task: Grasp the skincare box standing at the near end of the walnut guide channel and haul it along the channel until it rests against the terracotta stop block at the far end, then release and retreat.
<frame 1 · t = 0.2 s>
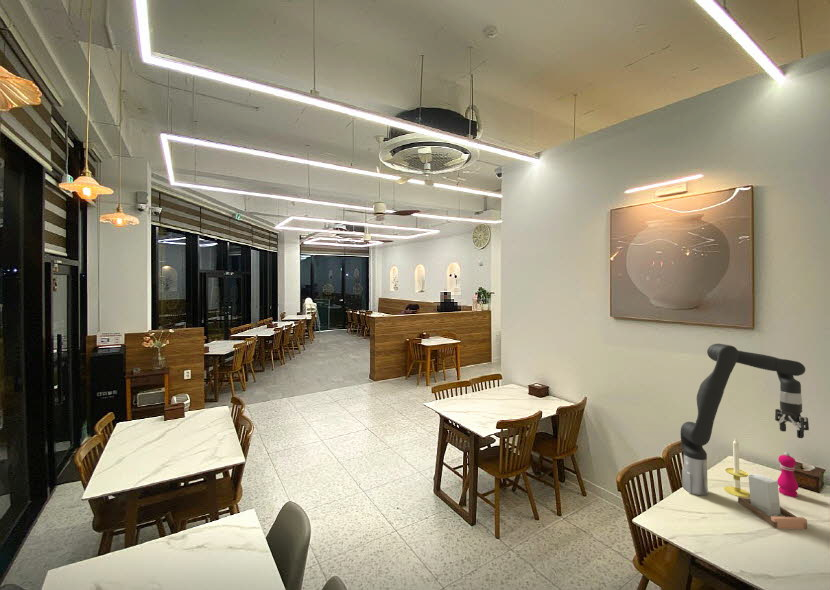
hand: (791, 434, 176), 29 cm above the table, fingers open, 8 cm apart
skincare box: (764, 511, 163), resting in guide channel
stop block: (789, 527, 151), on the table
candle: (737, 492, 179), on the table
guide channel: (770, 515, 160), on the table
pepper mill: (788, 494, 176), on the table
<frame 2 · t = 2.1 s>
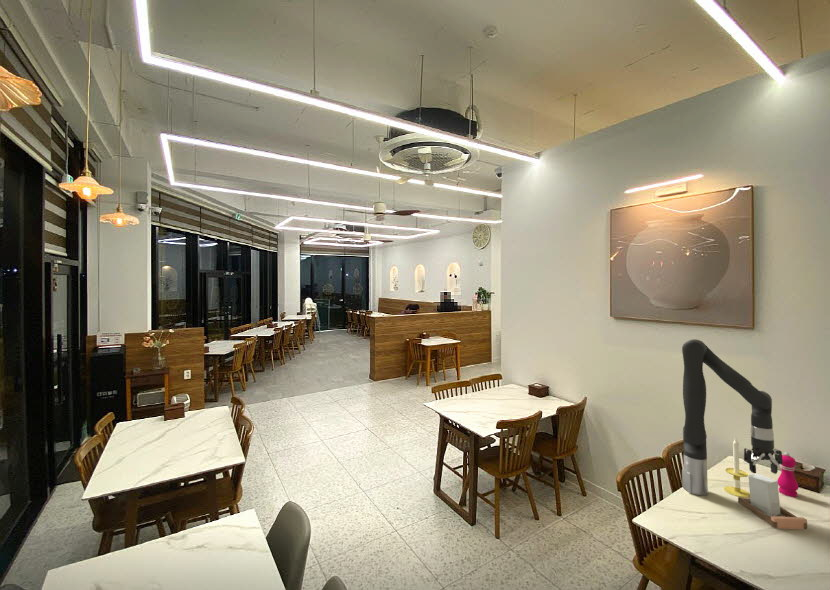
hand: (763, 472, 163), 17 cm above the table, fingers open, 8 cm apart
nothing on the table moved.
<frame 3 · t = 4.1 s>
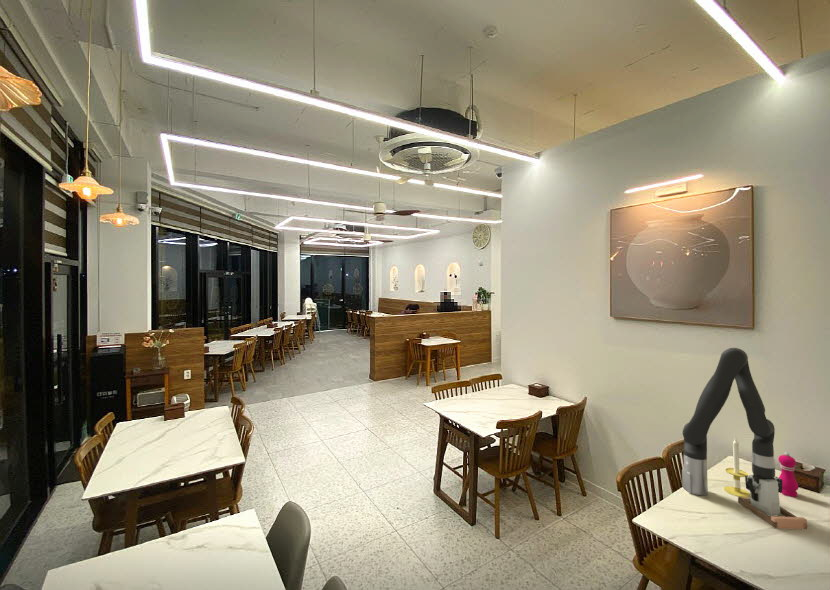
hand: (764, 500, 163), 5 cm above the table, fingers closed on skincare box, 7 cm apart
skincare box: (764, 511, 163), resting in guide channel, touching gripper
everything else where it was.
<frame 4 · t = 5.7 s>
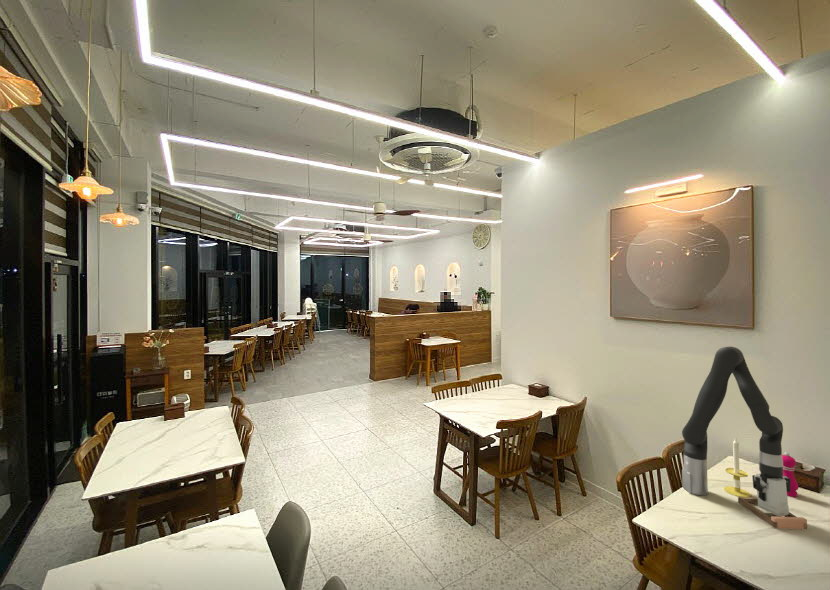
hand: (772, 500, 159), 7 cm above the table, fingers closed on skincare box, 7 cm apart
skincare box: (772, 511, 159), point 2 cm above the table, touching gripper
everything else where it was.
when the fingers open (5 cm above the table, at t = 7.7 s): skincare box stays where it is, resting in guide channel.
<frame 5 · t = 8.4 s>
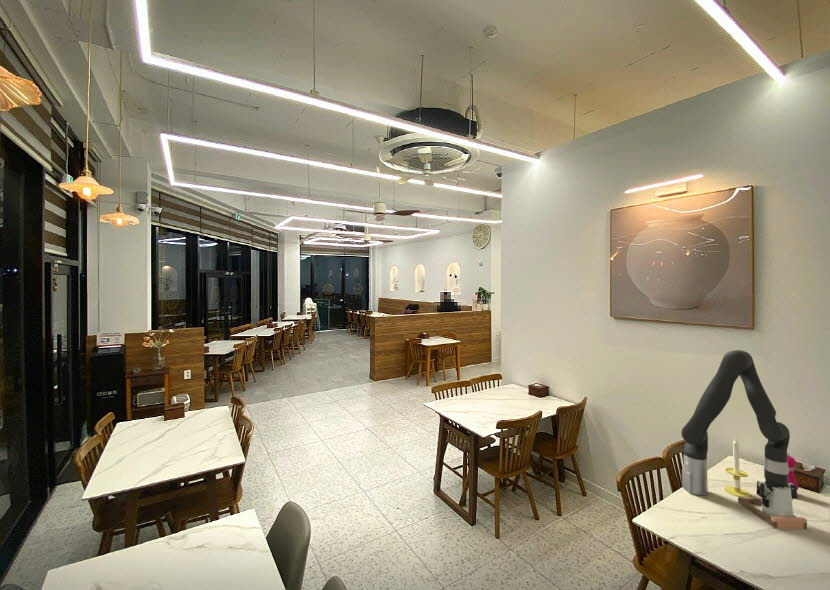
hand: (776, 507, 156), 5 cm above the table, fingers open, 8 cm apart
skincare box: (777, 520, 156), resting in guide channel
everything else where it was.
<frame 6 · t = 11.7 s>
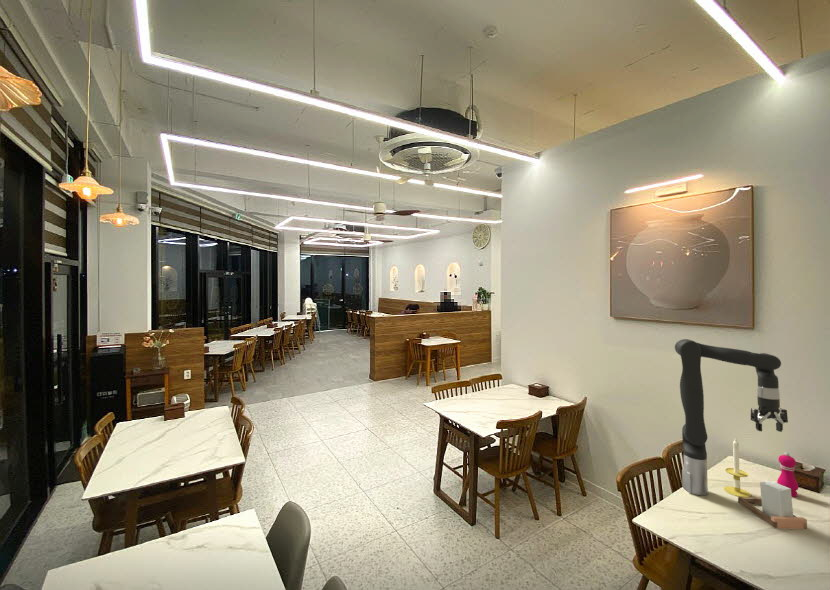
hand: (769, 431, 170), 33 cm above the table, fingers open, 8 cm apart
nothing on the table moved.
at the end: skincare box inside the target area (0.5 cm from its centre), resting in guide channel; skincare box tilted 0°; the gripper is holding nothing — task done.
